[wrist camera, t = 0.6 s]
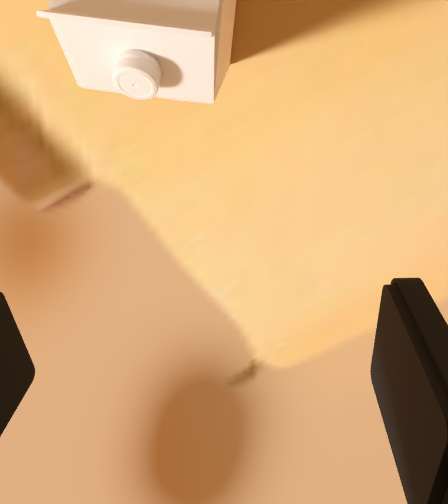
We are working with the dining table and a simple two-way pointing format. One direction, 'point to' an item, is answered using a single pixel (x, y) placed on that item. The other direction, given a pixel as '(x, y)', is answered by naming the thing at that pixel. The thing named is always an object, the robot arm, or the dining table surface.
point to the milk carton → (146, 45)
